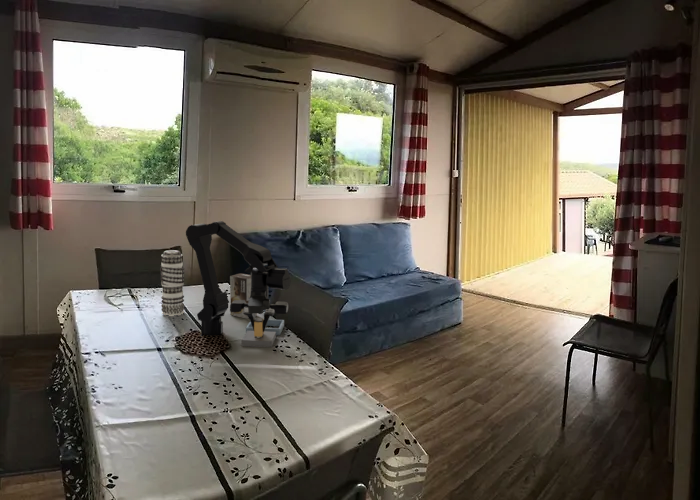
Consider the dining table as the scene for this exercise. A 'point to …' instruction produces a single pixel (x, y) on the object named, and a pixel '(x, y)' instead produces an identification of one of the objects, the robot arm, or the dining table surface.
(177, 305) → the decorative candle
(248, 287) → the coffee box
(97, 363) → the dining table surface
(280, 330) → the parts tray
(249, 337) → the fuse holder
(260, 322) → the fuse
